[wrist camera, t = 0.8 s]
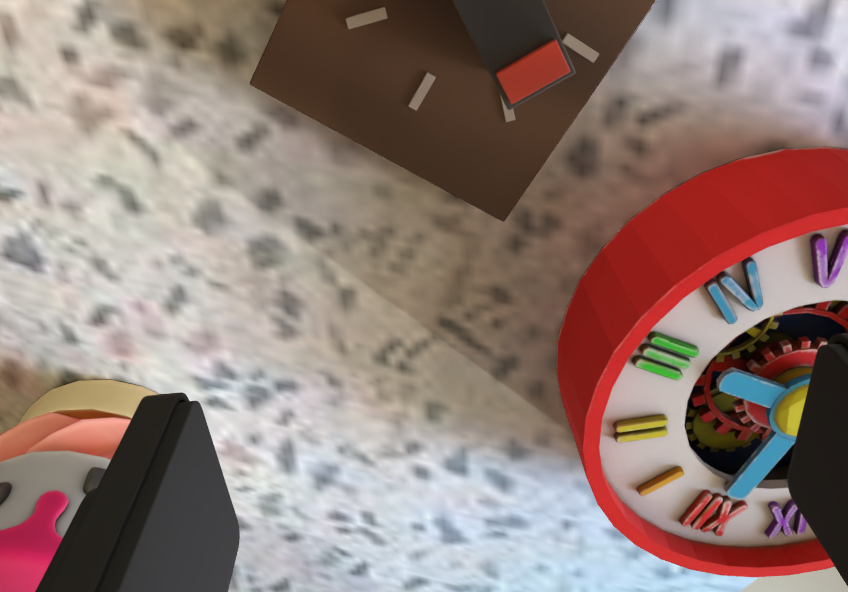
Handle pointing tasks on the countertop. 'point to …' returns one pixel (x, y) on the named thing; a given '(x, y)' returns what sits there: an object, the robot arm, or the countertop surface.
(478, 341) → the countertop surface
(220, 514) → the robot arm
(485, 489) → the countertop surface
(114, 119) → the countertop surface
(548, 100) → the panel
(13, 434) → the cake
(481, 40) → the dial
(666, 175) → the countertop surface
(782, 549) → the toy clock
